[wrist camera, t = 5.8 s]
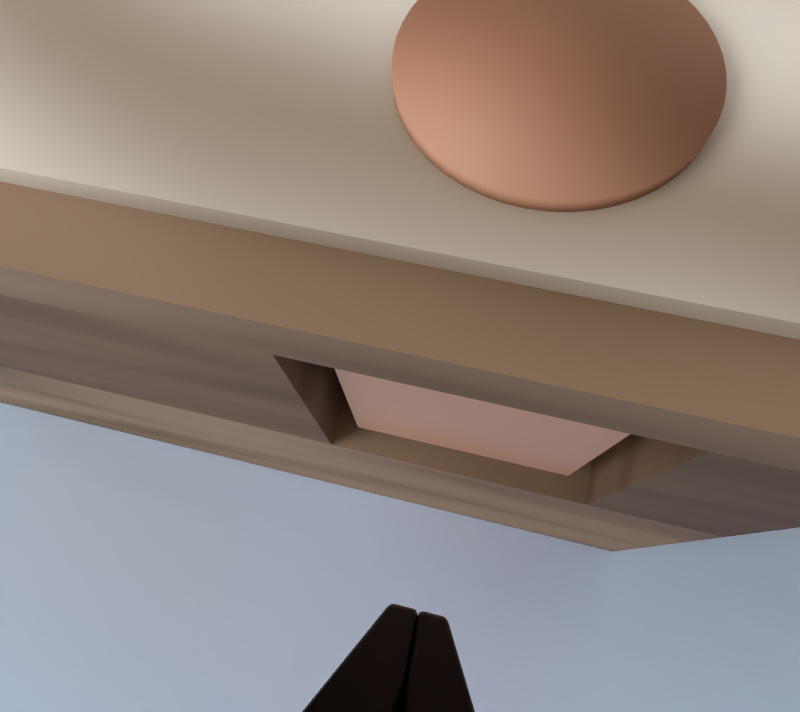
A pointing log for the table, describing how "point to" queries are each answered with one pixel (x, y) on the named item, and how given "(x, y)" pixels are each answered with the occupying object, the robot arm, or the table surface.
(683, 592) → the table surface
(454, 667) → the robot arm
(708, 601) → the table surface
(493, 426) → the salmon pink cube
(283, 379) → the wooden stand
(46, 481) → the table surface
